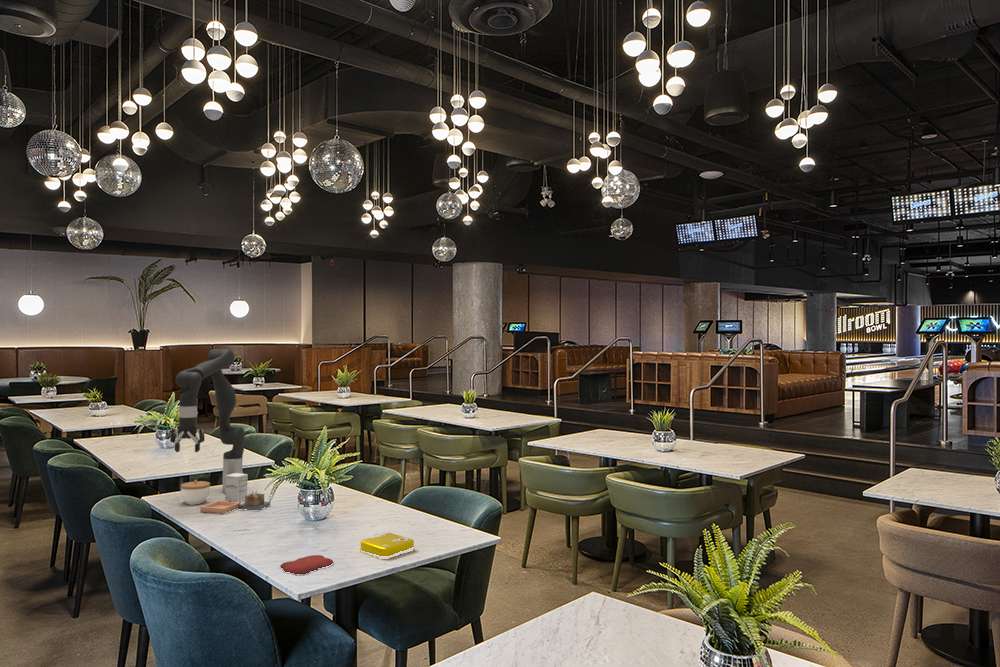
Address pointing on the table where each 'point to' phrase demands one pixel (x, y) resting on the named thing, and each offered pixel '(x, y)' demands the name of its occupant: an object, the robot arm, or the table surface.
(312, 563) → the patty
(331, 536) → the table surface
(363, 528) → the table surface
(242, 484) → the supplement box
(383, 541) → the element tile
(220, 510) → the terracotta tray
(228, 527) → the table surface
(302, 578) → the table surface
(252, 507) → the post stand
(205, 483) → the lidded bowl
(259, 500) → the brown wooden box
